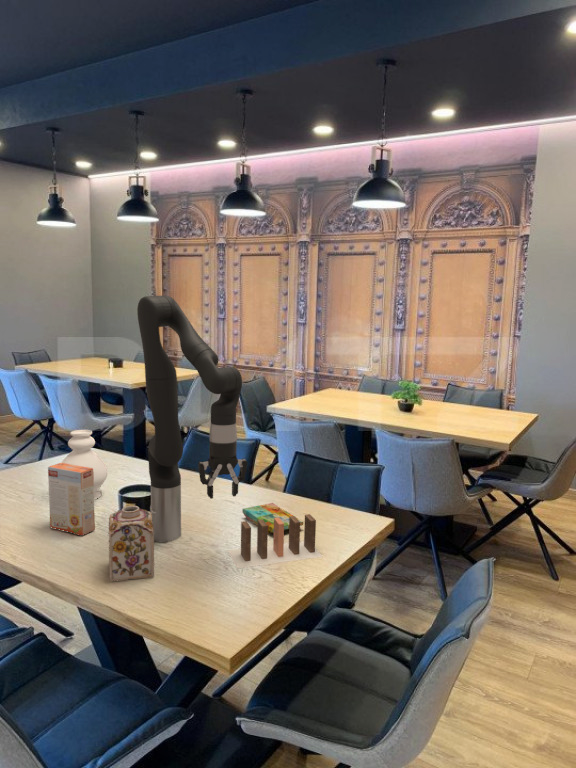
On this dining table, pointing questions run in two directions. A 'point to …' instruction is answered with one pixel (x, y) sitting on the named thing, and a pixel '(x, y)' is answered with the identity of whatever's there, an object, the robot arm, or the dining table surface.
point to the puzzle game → (268, 515)
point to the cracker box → (71, 498)
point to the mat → (272, 556)
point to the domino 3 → (278, 537)
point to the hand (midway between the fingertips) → (222, 496)
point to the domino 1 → (246, 541)
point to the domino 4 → (294, 534)
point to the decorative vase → (86, 457)
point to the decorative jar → (131, 544)
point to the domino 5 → (309, 533)
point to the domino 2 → (262, 539)
